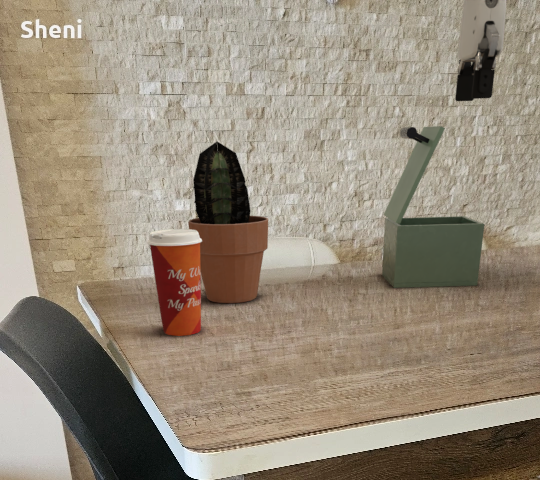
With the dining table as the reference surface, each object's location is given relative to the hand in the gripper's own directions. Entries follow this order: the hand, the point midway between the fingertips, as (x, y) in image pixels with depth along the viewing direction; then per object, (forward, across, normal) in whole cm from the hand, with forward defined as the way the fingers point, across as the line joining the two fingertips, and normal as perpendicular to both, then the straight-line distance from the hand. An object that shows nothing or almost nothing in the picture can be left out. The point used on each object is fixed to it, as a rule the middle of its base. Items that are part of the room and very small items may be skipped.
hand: (472, 99), depth 113 cm
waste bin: (+30, +2, +5) cm, 31 cm away
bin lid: (+12, +2, +9) cm, 15 cm away
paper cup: (+31, -31, +49) cm, 66 cm away
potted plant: (+31, -9, +42) cm, 53 cm away
